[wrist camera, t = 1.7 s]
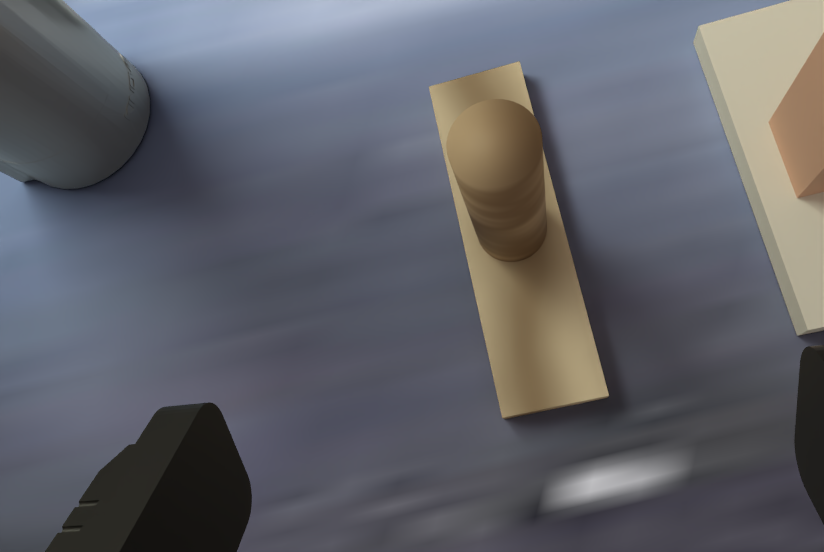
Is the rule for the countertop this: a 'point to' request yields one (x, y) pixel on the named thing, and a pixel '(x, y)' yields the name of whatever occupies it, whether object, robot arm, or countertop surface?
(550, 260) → the bar
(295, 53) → the countertop surface
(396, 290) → the countertop surface
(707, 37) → the stand
